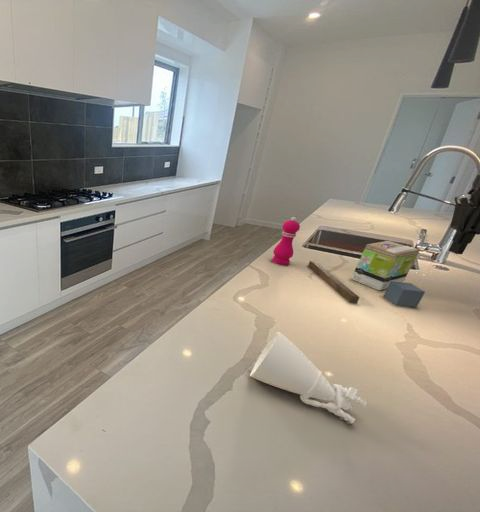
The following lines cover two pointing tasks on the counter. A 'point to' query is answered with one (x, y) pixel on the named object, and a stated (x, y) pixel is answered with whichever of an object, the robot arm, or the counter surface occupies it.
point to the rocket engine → (302, 377)
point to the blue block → (403, 294)
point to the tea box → (384, 264)
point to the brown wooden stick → (334, 282)
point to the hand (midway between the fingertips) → (455, 252)
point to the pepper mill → (286, 242)
